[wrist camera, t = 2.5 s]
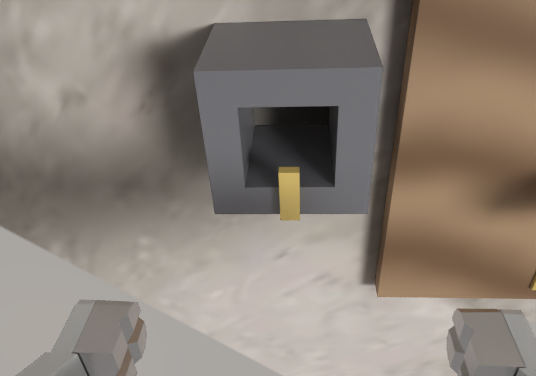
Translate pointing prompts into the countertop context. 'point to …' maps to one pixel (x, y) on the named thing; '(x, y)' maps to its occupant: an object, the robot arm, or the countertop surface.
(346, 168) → the square tunnel box
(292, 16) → the countertop surface
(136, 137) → the countertop surface
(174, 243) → the countertop surface
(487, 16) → the brown square board
